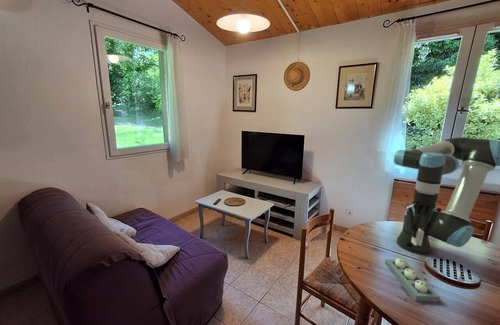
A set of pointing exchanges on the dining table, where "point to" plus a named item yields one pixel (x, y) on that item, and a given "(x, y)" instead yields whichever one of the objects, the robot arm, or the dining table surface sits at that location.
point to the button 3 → (421, 286)
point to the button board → (412, 283)
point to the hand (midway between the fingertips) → (416, 243)
